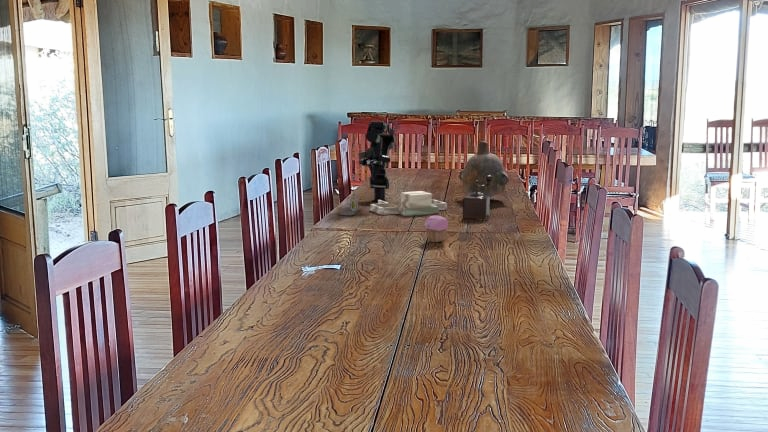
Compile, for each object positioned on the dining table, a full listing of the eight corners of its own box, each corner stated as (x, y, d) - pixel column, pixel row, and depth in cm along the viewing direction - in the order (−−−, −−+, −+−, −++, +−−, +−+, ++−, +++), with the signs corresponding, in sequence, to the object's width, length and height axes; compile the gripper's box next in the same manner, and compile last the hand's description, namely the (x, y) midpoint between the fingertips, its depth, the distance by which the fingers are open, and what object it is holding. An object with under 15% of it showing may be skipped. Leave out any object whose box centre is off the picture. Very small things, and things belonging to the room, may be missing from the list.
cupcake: (433, 238, 294) (434, 212, 292) (452, 241, 289) (453, 215, 287) (419, 241, 287) (420, 215, 286) (438, 245, 282) (439, 218, 280)
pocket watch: (336, 215, 339) (336, 193, 337) (346, 212, 347) (346, 190, 345) (352, 217, 336) (352, 194, 334) (362, 214, 343) (362, 192, 341)
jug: (506, 197, 394) (508, 139, 388) (508, 204, 373) (511, 143, 367) (458, 196, 396) (460, 138, 390) (458, 203, 375) (460, 142, 369)
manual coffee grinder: (486, 220, 332) (488, 179, 328) (461, 218, 335) (463, 177, 332) (493, 214, 346) (494, 174, 343) (469, 212, 350) (470, 173, 346)
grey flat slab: (361, 207, 360) (361, 201, 359) (424, 202, 375) (424, 196, 375) (388, 217, 336) (388, 210, 335) (454, 211, 351) (454, 205, 351)
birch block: (400, 211, 350) (401, 192, 349) (421, 210, 356) (421, 190, 354) (410, 214, 343) (410, 195, 341) (431, 213, 348) (431, 193, 346)
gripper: (351, 146, 369) (348, 178, 367) (372, 141, 354) (370, 174, 352) (370, 150, 375) (367, 181, 373) (392, 145, 360) (389, 177, 358)
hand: (373, 178), depth 364 cm, fingers closed
